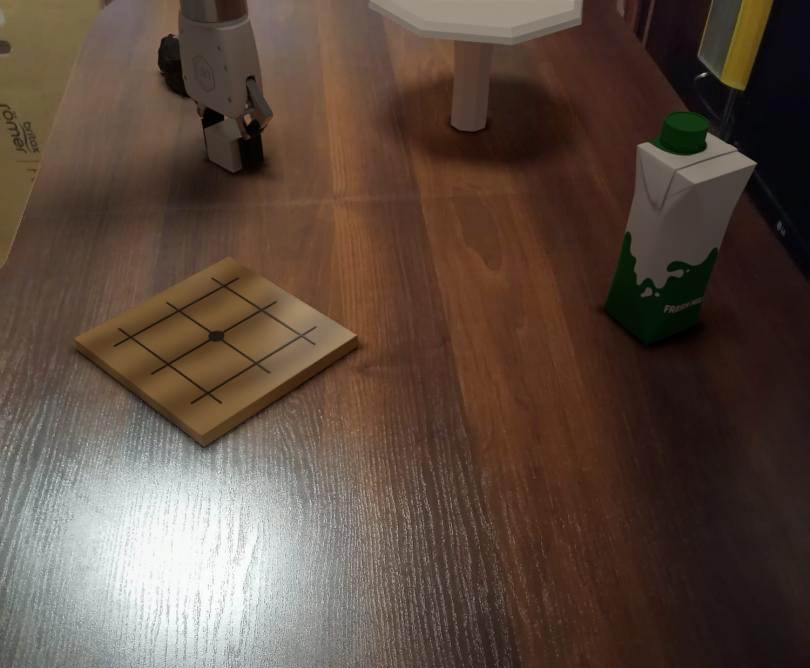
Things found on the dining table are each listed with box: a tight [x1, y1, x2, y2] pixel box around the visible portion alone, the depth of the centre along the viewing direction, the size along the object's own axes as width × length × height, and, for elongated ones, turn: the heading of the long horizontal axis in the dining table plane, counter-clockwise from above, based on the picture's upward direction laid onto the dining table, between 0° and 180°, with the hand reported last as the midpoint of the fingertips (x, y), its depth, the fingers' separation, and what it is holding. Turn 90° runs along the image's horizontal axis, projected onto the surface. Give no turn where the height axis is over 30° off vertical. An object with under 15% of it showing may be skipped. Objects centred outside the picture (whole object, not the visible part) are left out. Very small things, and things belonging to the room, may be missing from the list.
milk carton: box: [603, 110, 758, 346], centre depth 84 cm, size 9×9×20 cm
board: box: [73, 255, 359, 448], centre depth 87 cm, size 20×20×2 cm
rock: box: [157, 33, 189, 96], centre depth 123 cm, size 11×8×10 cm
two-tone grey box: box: [204, 117, 249, 174], centre depth 110 cm, size 5×5×4 cm
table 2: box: [367, 0, 584, 132], centre depth 112 cm, size 28×28×17 cm
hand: (234, 154), depth 111 cm, fingers open, 6 cm apart
